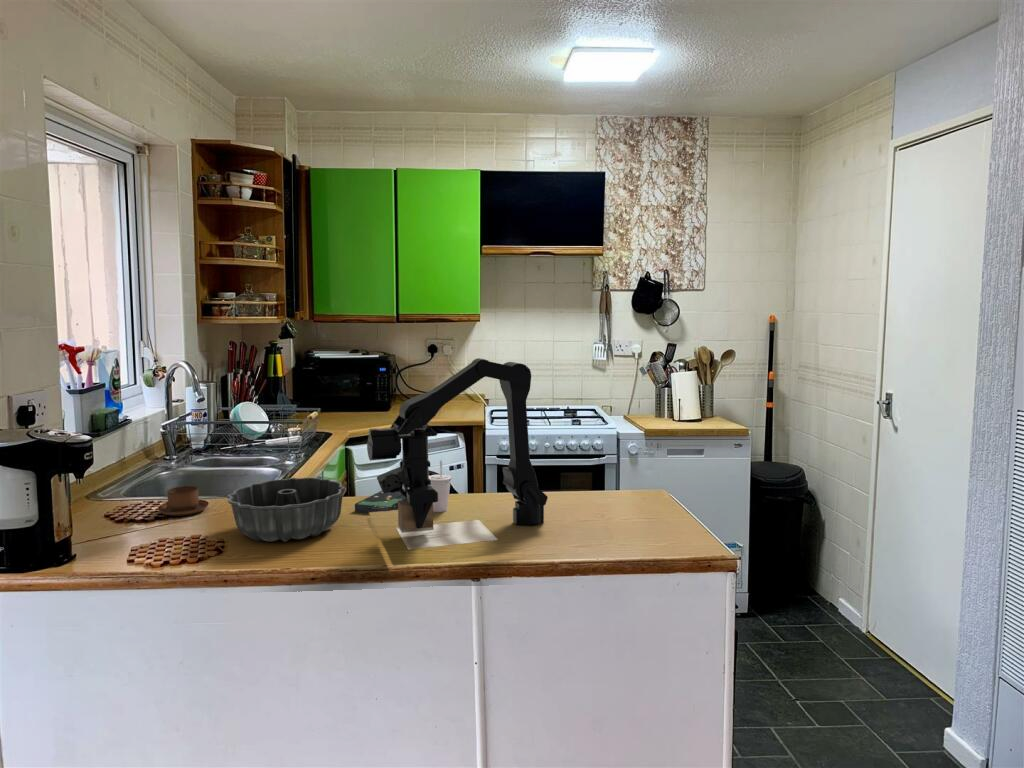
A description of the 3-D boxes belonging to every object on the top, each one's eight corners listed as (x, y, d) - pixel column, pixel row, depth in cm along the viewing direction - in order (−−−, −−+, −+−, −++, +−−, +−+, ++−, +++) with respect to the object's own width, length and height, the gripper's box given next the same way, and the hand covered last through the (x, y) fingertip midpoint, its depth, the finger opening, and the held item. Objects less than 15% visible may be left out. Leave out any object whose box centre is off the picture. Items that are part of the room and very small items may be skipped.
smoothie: (450, 517, 185) (450, 463, 184) (425, 517, 186) (424, 463, 184) (453, 510, 192) (452, 457, 190) (428, 510, 192) (427, 457, 190)
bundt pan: (245, 558, 157) (243, 512, 156) (217, 527, 179) (215, 487, 178) (362, 535, 172) (361, 494, 171) (323, 510, 194) (322, 472, 193)
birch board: (478, 524, 180) (478, 519, 179) (497, 544, 164) (497, 539, 164) (396, 533, 173) (396, 528, 173) (408, 554, 158) (408, 549, 158)
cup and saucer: (147, 517, 189) (146, 493, 188) (182, 504, 200) (181, 482, 199) (186, 521, 185) (184, 497, 184) (218, 508, 196) (217, 485, 195)
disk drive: (381, 500, 205) (354, 513, 191) (381, 490, 205) (353, 503, 191) (415, 502, 202) (390, 516, 188) (415, 492, 202) (389, 506, 188)
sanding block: (428, 523, 170) (428, 498, 169) (433, 529, 165) (433, 503, 164) (398, 526, 168) (397, 500, 167) (401, 532, 163) (401, 506, 162)
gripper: (373, 451, 171) (375, 516, 173) (385, 468, 153) (387, 541, 155) (421, 447, 174) (422, 512, 176) (437, 464, 157) (439, 535, 159)
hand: (416, 524), depth 166 cm, fingers closed on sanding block, 5 cm apart
